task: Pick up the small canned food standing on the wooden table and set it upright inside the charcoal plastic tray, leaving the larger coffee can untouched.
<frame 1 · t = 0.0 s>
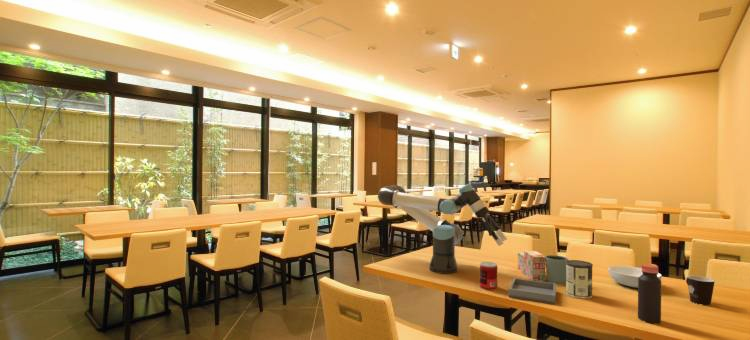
hand: (503, 242, 199), 15 cm above the table, tool tilted 35°, fingers open, 13 cm apart
grey cylinder: (556, 282, 181), on the table
bottle: (649, 320, 135), on the table
canned food: (488, 287, 171), on the table
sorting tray: (532, 294, 162), on the table
white food box: (530, 275, 192), on the table
serving bowl: (633, 285, 176), on the table
coffee mug: (699, 301, 155), on the table
coffee can: (578, 295, 162), on the table
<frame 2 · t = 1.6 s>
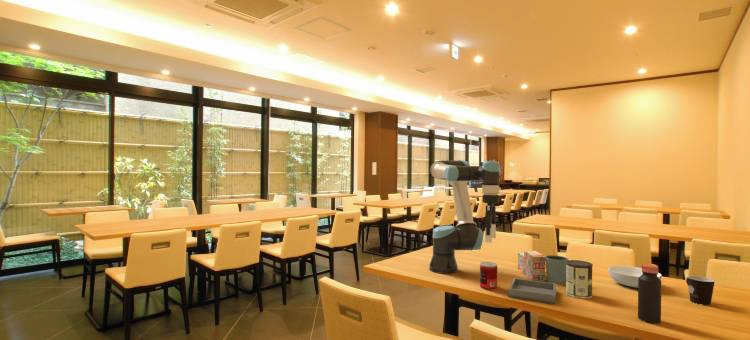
hand: (490, 240, 172), 22 cm above the table, tool pointing down, fingers open, 13 cm apart
nothing on the table moved.
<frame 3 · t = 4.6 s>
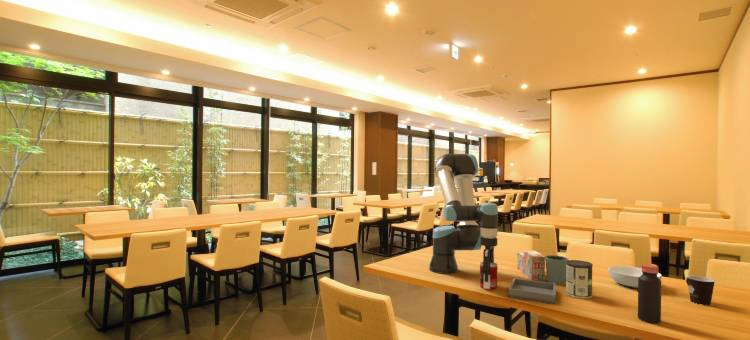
hand: (488, 285, 171), 1 cm above the table, tool pointing down, fingers closed on canned food, 8 cm apart
canned food: (488, 287, 171), on the table, touching gripper
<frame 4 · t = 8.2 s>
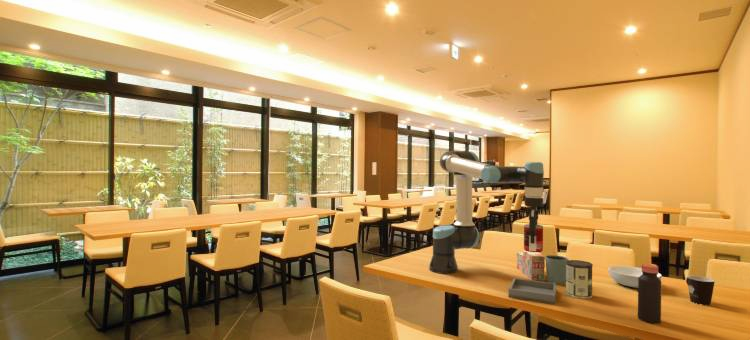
hand: (533, 248, 162), 20 cm above the table, tool pointing down, fingers closed on canned food, 8 cm apart
canned food: (533, 250, 162), point 19 cm above the table, touching gripper
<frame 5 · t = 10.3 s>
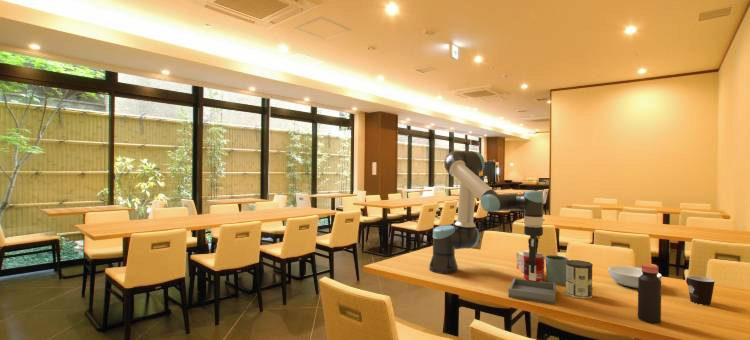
hand: (533, 277, 162), 7 cm above the table, tool pointing down, fingers closed on canned food, 8 cm apart
canned food: (533, 279, 162), point 6 cm above the table, touching gripper
when the fingers open (3 cm above the table, at t = 12.1 s): canned food drops 1 cm, resting on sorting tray.
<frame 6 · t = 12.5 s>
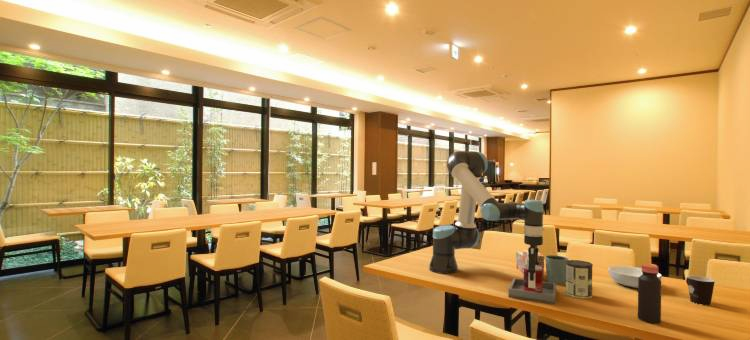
hand: (532, 283, 162), 5 cm above the table, tool pointing down, fingers open, 13 cm apart
canned food: (532, 292, 162), point 1 cm above the table, touching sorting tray
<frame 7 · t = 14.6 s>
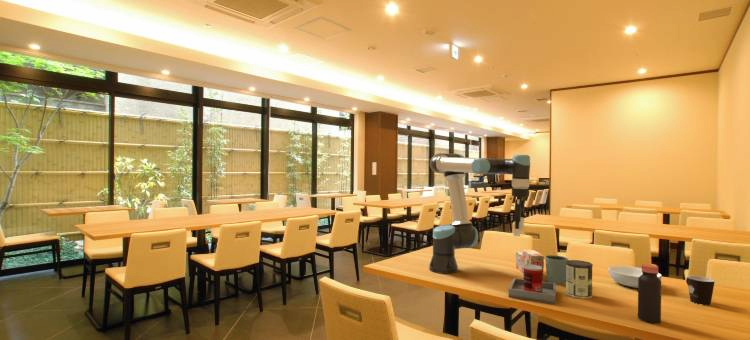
hand: (518, 233, 172), 25 cm above the table, tool pointing down, fingers open, 13 cm apart
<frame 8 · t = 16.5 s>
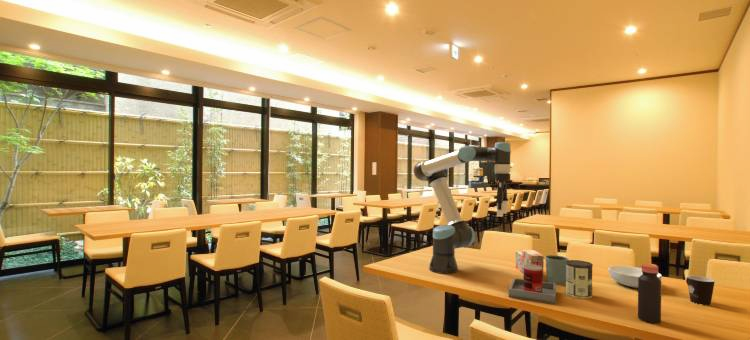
hand: (501, 215, 186), 32 cm above the table, tool pointing down, fingers open, 13 cm apart
at the end: canned food inside the target area on the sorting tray (0.1 cm from its centre), point 0.8 cm above the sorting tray's base; canned food tilted 0°; coffee can moved 0.2 cm from its start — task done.
